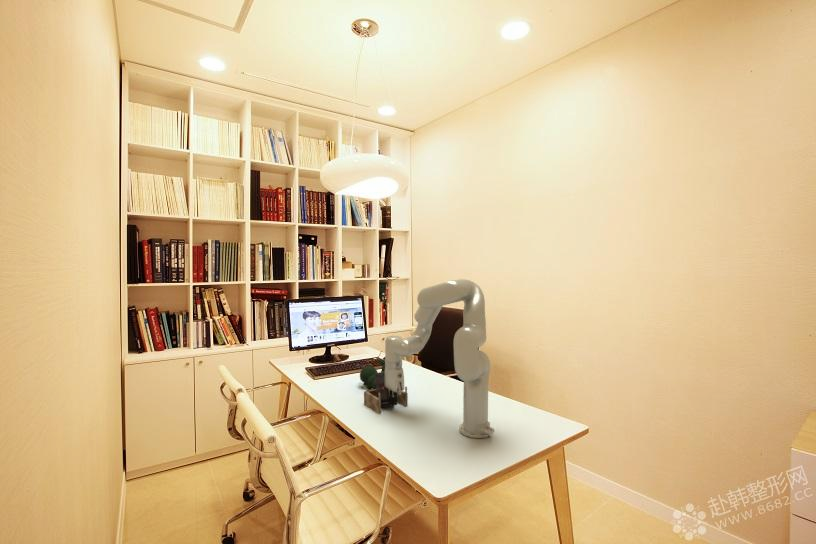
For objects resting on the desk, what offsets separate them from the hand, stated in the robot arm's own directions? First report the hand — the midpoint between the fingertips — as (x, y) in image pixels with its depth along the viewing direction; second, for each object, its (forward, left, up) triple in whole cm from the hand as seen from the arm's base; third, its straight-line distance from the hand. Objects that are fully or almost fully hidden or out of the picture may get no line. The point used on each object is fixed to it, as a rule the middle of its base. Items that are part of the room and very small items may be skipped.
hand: (393, 404), depth 166 cm
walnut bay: (+7, -1, -3) cm, 7 cm away
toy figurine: (+29, -7, -3) cm, 29 cm away
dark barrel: (+5, 0, -2) cm, 5 cm away
